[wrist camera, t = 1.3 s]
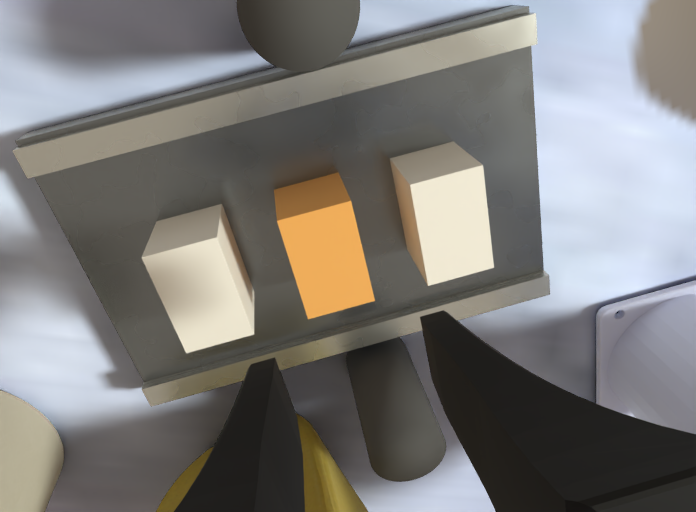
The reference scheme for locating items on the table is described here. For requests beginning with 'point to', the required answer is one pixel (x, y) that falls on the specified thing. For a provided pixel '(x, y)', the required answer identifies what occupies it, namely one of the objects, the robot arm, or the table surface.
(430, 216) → the block
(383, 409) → the cylinder
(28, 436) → the travel mug
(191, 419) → the table surface
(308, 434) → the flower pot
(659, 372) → the robot arm
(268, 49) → the cord post
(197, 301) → the block
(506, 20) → the panel
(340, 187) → the block
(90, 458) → the table surface
